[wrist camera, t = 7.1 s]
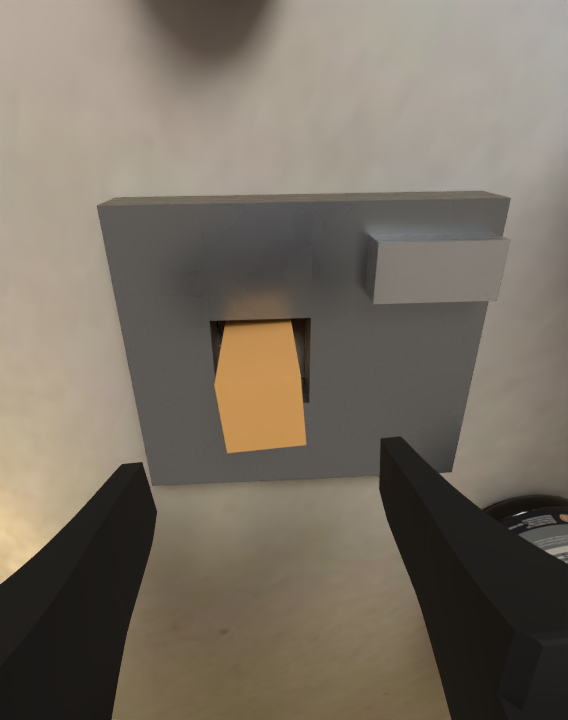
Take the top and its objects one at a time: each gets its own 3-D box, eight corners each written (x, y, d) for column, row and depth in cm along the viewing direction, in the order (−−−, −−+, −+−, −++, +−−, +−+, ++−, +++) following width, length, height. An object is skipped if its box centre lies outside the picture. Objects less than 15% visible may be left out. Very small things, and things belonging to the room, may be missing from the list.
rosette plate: (482, 191, 19) (532, 203, 16) (435, 444, 26) (463, 492, 22) (115, 197, 19) (82, 211, 15) (161, 455, 25) (146, 507, 21)
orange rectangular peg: (288, 305, 21) (300, 376, 15) (293, 360, 23) (306, 444, 16) (227, 312, 21) (214, 385, 15) (235, 365, 23) (227, 453, 16)
